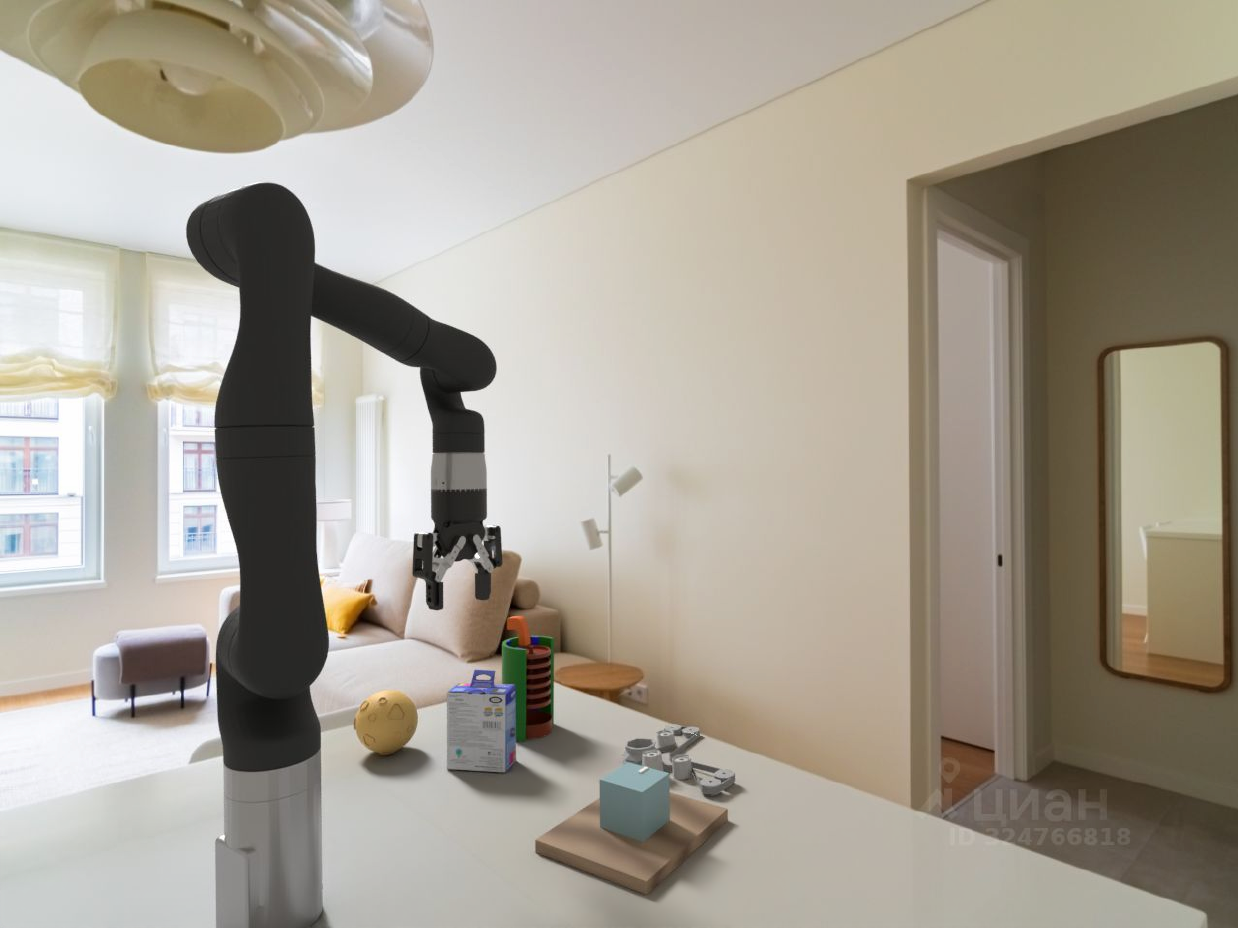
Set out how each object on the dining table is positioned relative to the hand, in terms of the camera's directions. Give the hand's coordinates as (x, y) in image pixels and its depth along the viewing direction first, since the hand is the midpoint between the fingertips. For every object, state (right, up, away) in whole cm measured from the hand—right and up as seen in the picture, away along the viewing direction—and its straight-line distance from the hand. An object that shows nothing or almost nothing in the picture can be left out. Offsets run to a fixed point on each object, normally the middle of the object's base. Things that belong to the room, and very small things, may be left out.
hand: (460, 604), depth 100 cm
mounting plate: (+24, -28, -8) cm, 38 cm away
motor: (+6, -28, +29) cm, 41 cm away
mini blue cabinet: (+24, -26, -8) cm, 36 cm away
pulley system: (+30, -28, +15) cm, 44 cm away
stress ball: (-16, -28, +20) cm, 38 cm away
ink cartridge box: (0, -28, +15) cm, 32 cm away
